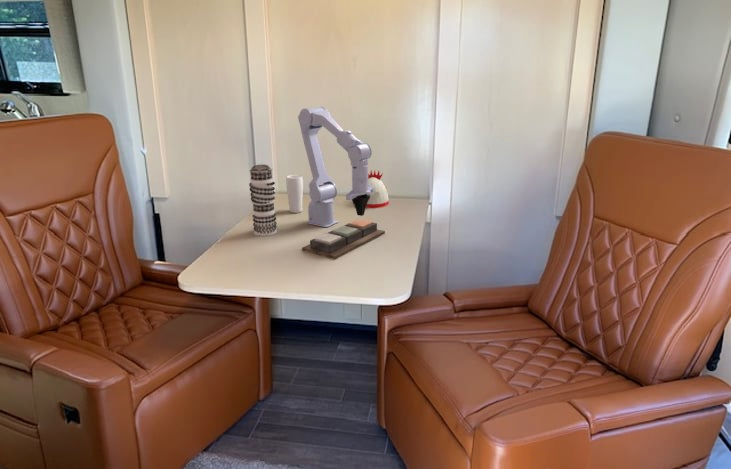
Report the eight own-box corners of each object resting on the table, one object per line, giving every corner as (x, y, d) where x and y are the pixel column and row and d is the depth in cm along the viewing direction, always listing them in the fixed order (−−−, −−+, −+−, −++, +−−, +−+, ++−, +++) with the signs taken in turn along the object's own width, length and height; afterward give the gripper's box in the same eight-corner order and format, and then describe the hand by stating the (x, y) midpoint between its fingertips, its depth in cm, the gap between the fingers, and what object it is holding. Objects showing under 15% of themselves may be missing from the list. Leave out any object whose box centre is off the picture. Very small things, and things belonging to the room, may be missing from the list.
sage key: (332, 235, 182) (332, 230, 182) (343, 230, 187) (343, 225, 187) (347, 239, 179) (346, 233, 178) (357, 234, 184) (357, 228, 183)
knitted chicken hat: (388, 208, 223) (388, 173, 218) (356, 207, 223) (356, 173, 218) (388, 199, 236) (388, 166, 231) (358, 199, 237) (357, 166, 232)
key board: (302, 250, 176) (301, 240, 175) (353, 226, 199) (353, 217, 198) (334, 259, 168) (334, 248, 167) (384, 233, 192) (384, 223, 190)
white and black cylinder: (273, 226, 200) (269, 162, 192) (281, 233, 192) (277, 166, 184) (250, 230, 196) (244, 164, 188) (257, 237, 188) (251, 169, 180)
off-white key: (314, 243, 175) (314, 238, 174) (326, 238, 180) (326, 232, 179) (329, 247, 171) (329, 241, 171) (341, 241, 176) (341, 236, 176)
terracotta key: (348, 228, 190) (348, 223, 189) (358, 223, 195) (358, 218, 194) (362, 231, 186) (362, 226, 186) (372, 226, 191) (372, 221, 190)
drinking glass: (307, 210, 220) (306, 175, 215) (297, 214, 214) (295, 179, 209) (295, 208, 223) (293, 173, 218) (284, 212, 218) (282, 177, 213)
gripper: (357, 183, 176) (358, 222, 181) (380, 175, 188) (380, 211, 192) (340, 181, 180) (341, 218, 185) (364, 173, 191) (365, 208, 196)
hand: (360, 215), depth 189 cm, fingers closed
